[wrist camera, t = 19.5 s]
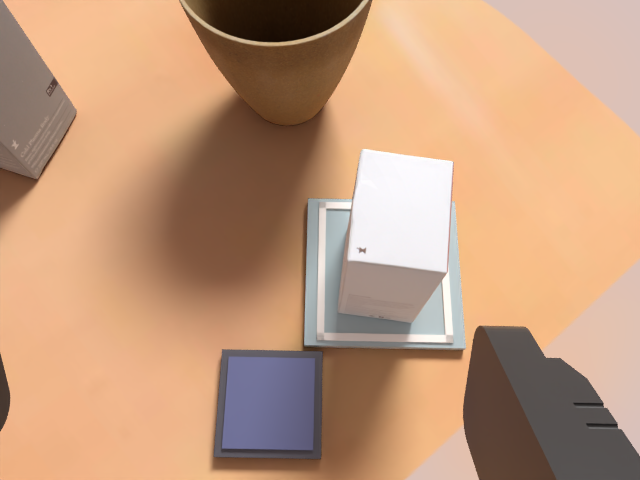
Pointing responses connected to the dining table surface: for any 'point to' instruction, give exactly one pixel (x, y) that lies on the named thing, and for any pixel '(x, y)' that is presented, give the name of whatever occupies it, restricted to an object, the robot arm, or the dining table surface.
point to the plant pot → (280, 49)
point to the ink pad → (269, 404)
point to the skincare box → (28, 103)
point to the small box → (396, 235)
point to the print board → (366, 332)
